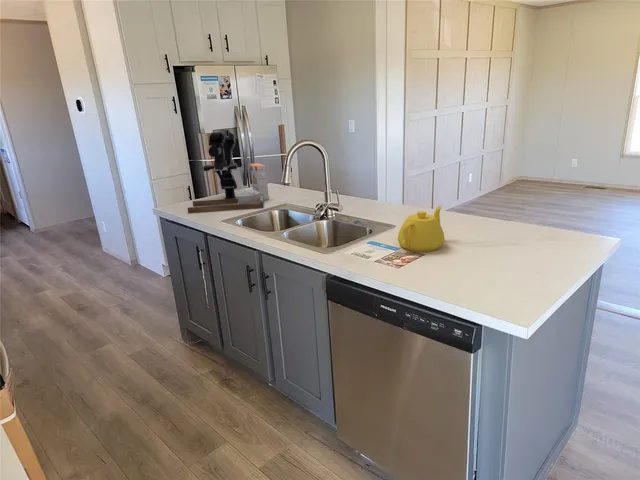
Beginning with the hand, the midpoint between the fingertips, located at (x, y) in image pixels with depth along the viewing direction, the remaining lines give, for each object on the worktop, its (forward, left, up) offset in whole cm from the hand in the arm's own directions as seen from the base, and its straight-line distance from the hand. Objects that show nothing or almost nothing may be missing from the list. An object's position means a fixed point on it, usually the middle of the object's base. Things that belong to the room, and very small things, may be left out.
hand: (222, 181), depth 250 cm
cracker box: (-7, +21, -13) cm, 26 cm away
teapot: (+98, +87, -13) cm, 131 cm away
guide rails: (+9, +2, -13) cm, 16 cm away
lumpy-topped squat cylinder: (+9, +15, -13) cm, 22 cm away
